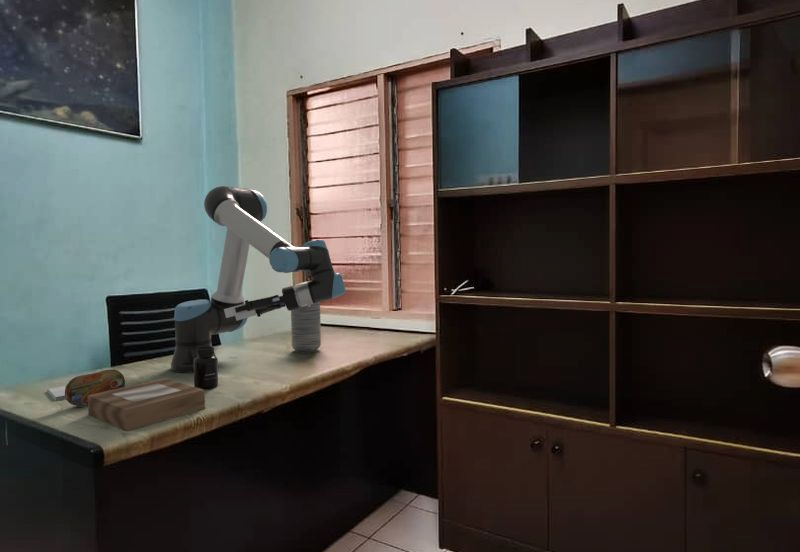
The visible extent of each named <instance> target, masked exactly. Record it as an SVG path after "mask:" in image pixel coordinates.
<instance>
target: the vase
mask: <svg viewBox="0 0 800 552" xmlns="http://www.w3.org/2000/svg"><path fill="white" fill-rule="evenodd" d="M310 305H311V306H310V307H308V306H304V307H301V306H299V308H298V309H294V310H291V311H290V329H291V347H292V349H293V350H295V353H298V354H311V353H316V352H317V351H318V349H319V348H320V347H321V345H322V336H321V335H322V334H321V333H322V332H321V302H318V303H315V304H310Z"/></svg>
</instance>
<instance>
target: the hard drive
mask: <svg viewBox="0 0 800 552" xmlns="http://www.w3.org/2000/svg"><path fill="white" fill-rule="evenodd" d="M66 386H67V385H61V386H56V387H50V388H47V389H46V392H47V393H48V394H49V396H50V395H51V396H52V397H51V396H50V397H51V398H52V399H53V400H54V401H55V402H56V401H57V402H58V401H63V400H66V397H65V388H66Z"/></svg>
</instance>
